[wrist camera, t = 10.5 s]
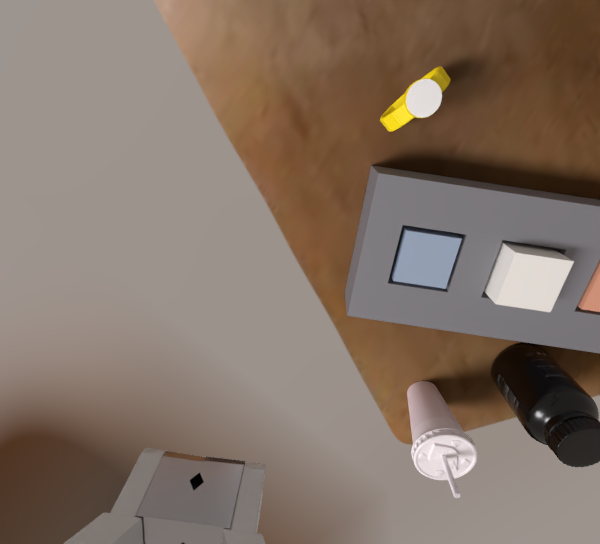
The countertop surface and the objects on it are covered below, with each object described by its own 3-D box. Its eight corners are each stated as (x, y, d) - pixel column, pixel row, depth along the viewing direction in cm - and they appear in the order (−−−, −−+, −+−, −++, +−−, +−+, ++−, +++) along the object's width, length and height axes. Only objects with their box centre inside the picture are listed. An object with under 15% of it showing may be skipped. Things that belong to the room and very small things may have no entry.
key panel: (344, 293, 42) (347, 315, 38) (371, 165, 37) (378, 173, 32) (609, 333, 42) (645, 360, 38) (676, 211, 37) (727, 225, 32)
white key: (477, 283, 38) (495, 304, 34) (494, 236, 36) (515, 252, 32) (526, 290, 38) (550, 312, 34) (545, 244, 36) (574, 261, 32)
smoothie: (433, 363, 45) (478, 464, 32) (457, 399, 47) (508, 508, 34) (386, 386, 47) (410, 491, 34) (411, 420, 49) (443, 531, 36)
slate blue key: (385, 263, 40) (393, 280, 36) (397, 217, 38) (406, 230, 34) (433, 270, 40) (445, 288, 36) (446, 225, 38) (462, 238, 34)
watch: (423, 64, 33) (448, 51, 28) (441, 90, 34) (469, 82, 28) (370, 114, 35) (383, 110, 29) (388, 137, 35) (405, 138, 30)
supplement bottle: (531, 394, 46) (597, 483, 35) (479, 380, 46) (528, 466, 35) (561, 349, 43) (643, 431, 32) (506, 334, 43) (569, 411, 32)
